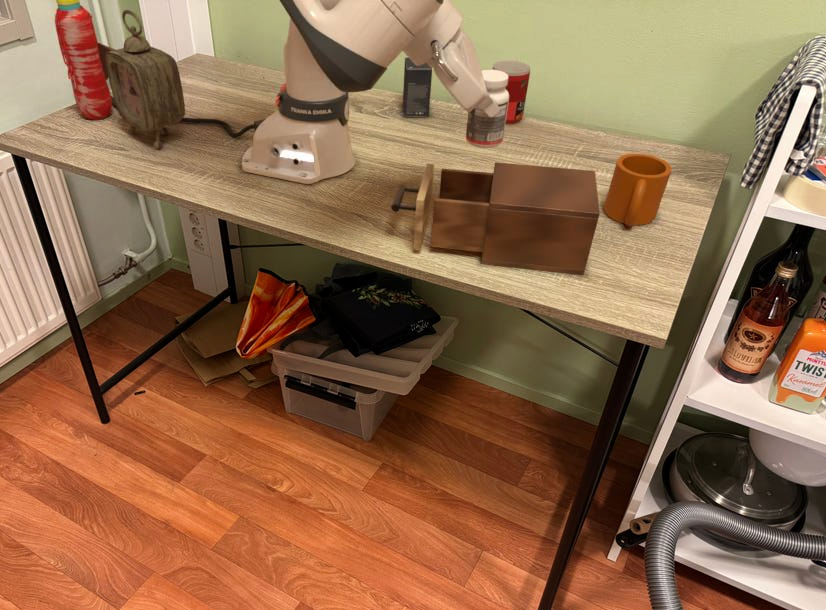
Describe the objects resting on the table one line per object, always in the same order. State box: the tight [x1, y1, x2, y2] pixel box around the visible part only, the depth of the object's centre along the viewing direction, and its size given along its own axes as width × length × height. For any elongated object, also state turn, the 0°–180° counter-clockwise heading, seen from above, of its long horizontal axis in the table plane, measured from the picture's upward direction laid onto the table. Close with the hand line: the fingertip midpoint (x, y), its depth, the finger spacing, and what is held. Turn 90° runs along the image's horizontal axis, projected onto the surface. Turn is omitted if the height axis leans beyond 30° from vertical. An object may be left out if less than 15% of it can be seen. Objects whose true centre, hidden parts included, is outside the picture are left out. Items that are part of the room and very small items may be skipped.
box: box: [402, 56, 433, 118], centre depth 151 cm, size 8×6×11 cm
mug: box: [603, 153, 673, 228], centre depth 116 cm, size 9×12×9 cm
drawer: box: [390, 163, 494, 253], centre depth 110 cm, size 19×13×9 cm, turn 78°
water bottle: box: [54, 0, 116, 121], centre depth 147 cm, size 12×8×25 cm, turn 145°
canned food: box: [491, 60, 531, 125], centre depth 148 cm, size 8×8×11 cm
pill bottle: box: [465, 69, 509, 149], centre depth 101 cm, size 6×6×10 cm
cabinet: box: [480, 161, 601, 276], centre depth 108 cm, size 16×14×11 cm
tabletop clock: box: [105, 9, 186, 150], centre depth 137 cm, size 14×9×25 cm, turn 42°
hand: (492, 103), depth 100 cm, fingers closed on pill bottle, 6 cm apart
